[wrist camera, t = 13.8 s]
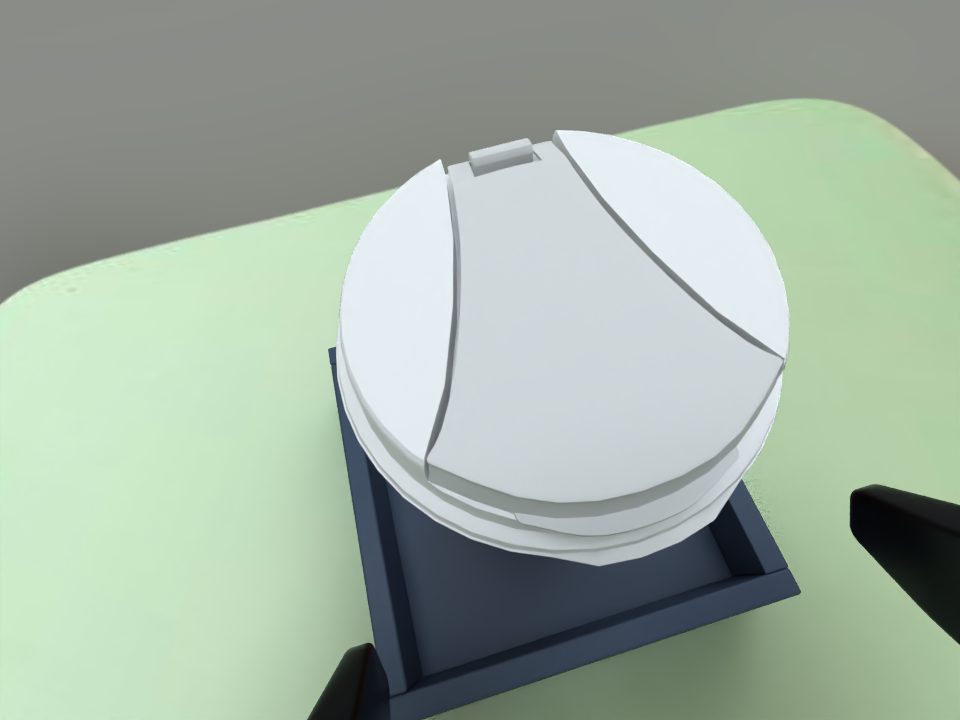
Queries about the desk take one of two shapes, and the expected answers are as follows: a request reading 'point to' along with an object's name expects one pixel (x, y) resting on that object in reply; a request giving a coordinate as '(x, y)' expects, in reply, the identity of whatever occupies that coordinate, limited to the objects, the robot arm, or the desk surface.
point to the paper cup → (563, 346)
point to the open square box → (534, 594)
